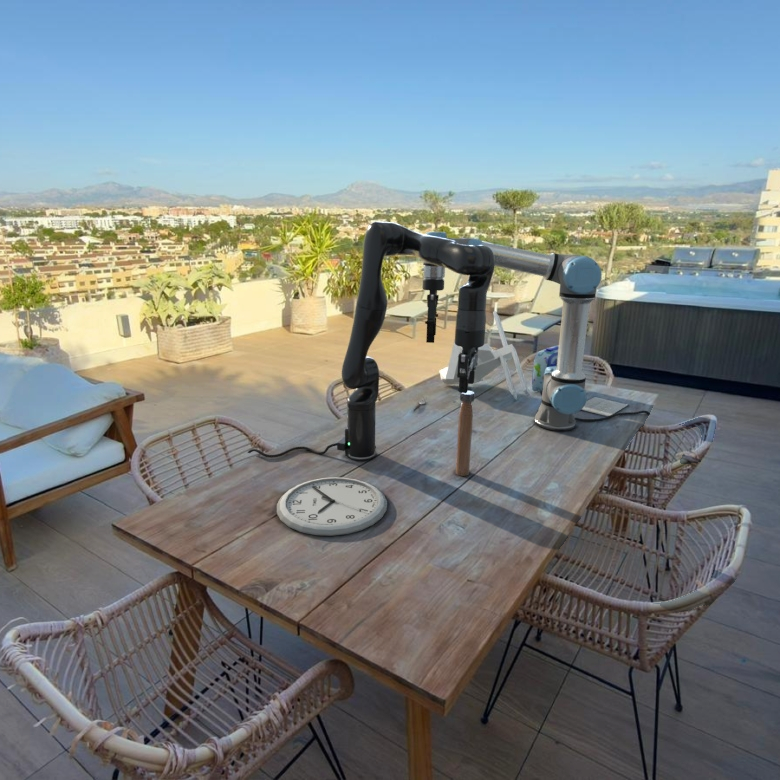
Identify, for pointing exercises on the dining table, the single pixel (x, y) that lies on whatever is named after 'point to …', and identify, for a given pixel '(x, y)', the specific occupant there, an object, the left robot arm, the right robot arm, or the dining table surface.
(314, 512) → the wall clock
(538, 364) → the lunch box
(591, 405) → the invitation card
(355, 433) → the left robot arm
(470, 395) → the cap
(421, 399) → the fork
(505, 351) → the white plastic object
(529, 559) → the dining table surface
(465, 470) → the ringed wooden cylinder
